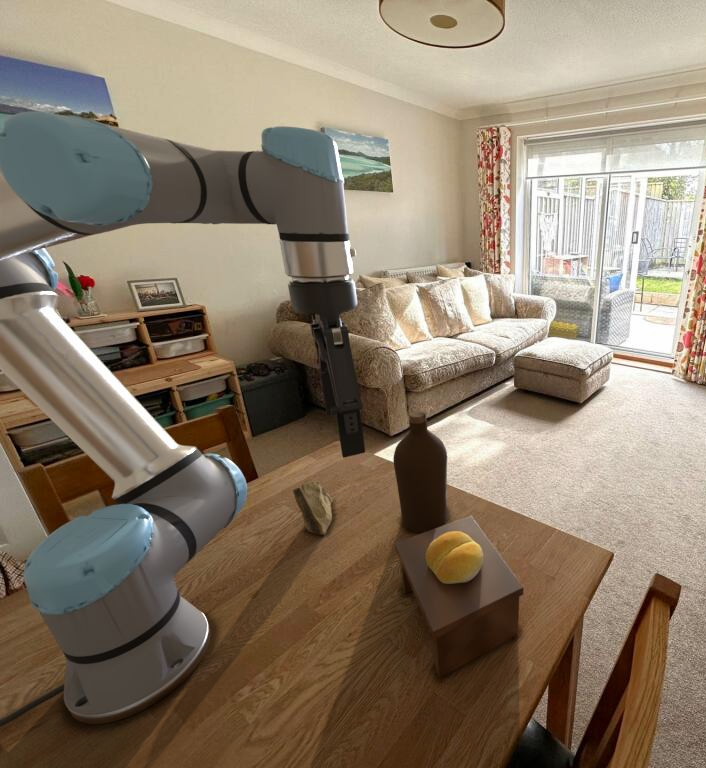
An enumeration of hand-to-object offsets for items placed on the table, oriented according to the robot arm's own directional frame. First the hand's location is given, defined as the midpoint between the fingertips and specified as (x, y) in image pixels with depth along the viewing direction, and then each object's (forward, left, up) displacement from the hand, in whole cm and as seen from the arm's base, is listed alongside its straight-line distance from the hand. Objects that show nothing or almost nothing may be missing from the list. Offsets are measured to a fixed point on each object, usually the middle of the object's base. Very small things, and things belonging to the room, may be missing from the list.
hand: (344, 431), depth 57 cm
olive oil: (+15, +14, -32) cm, 38 cm away
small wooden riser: (+12, -10, -32) cm, 35 cm away
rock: (-4, +25, -32) cm, 41 cm away
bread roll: (+12, -10, -22) cm, 27 cm away
